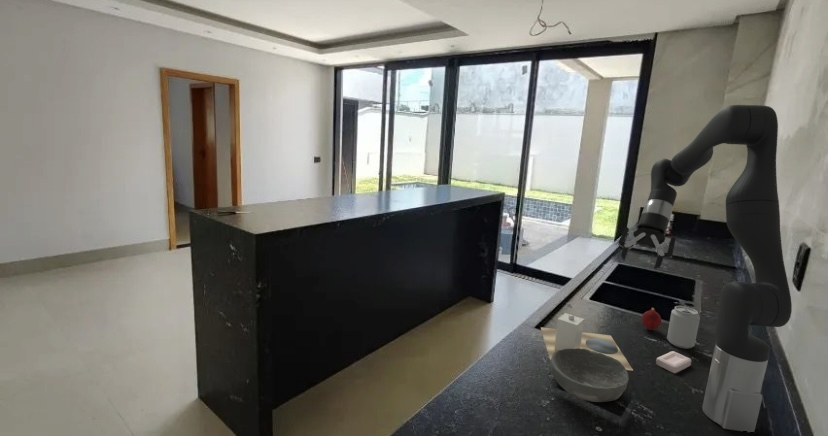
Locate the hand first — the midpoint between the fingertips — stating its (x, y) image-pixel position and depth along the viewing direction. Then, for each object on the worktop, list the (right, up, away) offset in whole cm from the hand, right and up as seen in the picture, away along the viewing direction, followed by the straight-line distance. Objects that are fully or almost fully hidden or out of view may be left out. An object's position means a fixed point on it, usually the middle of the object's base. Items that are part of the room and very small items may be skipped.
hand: (639, 264), depth 114 cm
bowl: (-24, -31, -17) cm, 43 cm away
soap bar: (+8, -30, -3) cm, 31 cm away
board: (-16, -27, +3) cm, 32 cm away
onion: (+14, -25, +18) cm, 34 cm away
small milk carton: (-22, -26, 0) cm, 34 cm away
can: (+19, -27, +9) cm, 34 cm away
